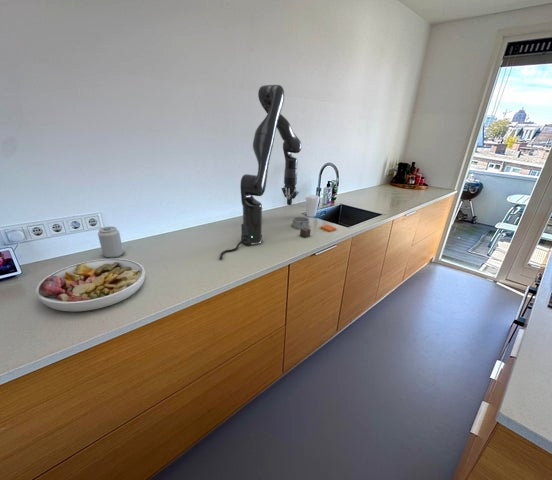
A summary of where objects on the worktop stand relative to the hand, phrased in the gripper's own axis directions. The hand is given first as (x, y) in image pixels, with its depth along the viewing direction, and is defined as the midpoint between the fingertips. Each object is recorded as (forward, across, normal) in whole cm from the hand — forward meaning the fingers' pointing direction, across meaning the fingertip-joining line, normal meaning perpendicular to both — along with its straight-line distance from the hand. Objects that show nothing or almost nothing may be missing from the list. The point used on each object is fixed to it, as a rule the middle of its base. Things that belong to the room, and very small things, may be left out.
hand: (289, 204), depth 176 cm
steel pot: (+11, +11, 0) cm, 15 cm away
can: (+10, -8, -95) cm, 96 cm away
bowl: (+10, +19, -107) cm, 109 cm away
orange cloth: (+11, +24, +10) cm, 28 cm away
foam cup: (+11, -1, +22) cm, 24 cm away
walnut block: (+10, +24, -10) cm, 28 cm away
